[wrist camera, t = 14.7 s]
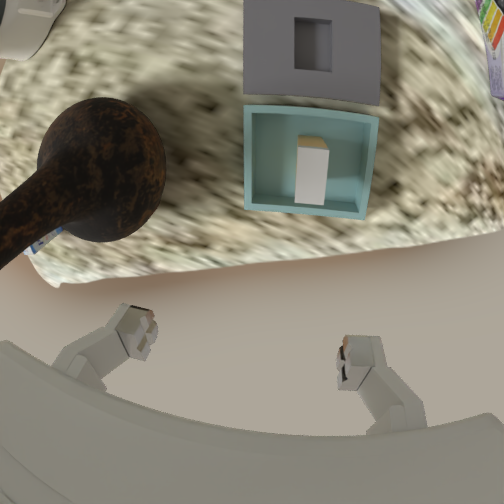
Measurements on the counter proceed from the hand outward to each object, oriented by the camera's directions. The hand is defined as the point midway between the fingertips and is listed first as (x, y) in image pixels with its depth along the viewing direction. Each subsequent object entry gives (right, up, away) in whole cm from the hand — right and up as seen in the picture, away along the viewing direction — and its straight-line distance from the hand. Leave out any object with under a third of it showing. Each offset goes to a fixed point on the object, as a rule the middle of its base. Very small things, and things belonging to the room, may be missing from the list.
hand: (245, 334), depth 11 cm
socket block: (+7, +25, +11) cm, 28 cm away
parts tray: (+7, +14, +18) cm, 24 cm away
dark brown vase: (-17, +17, +22) cm, 32 cm away
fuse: (+7, +14, +18) cm, 24 cm away
